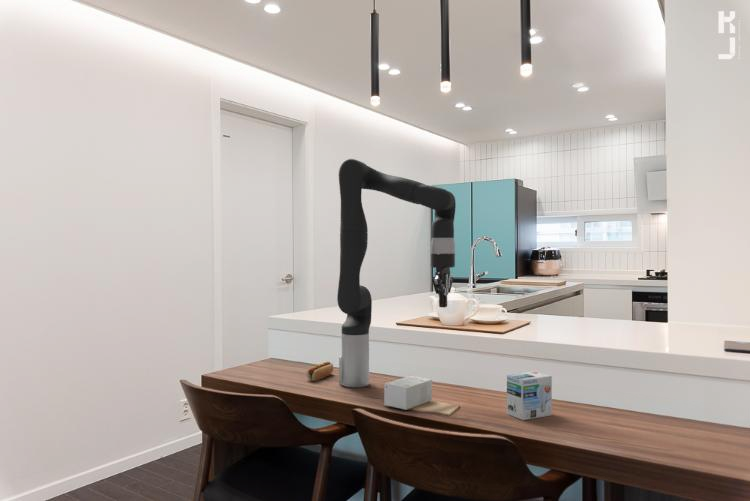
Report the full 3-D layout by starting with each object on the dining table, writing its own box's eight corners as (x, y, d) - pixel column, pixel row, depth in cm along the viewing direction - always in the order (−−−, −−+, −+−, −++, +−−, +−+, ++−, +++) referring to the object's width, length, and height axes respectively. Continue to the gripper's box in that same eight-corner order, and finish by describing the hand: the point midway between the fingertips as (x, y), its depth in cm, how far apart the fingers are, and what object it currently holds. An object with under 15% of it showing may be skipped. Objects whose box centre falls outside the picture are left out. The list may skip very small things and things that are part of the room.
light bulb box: (523, 421, 139) (522, 379, 139) (505, 414, 145) (505, 374, 145) (553, 415, 144) (552, 375, 144) (535, 408, 150) (534, 370, 150)
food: (322, 373, 197) (322, 359, 197) (336, 374, 194) (336, 361, 194) (303, 381, 184) (303, 367, 184) (317, 383, 182) (317, 368, 182)
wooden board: (383, 405, 153) (383, 404, 153) (397, 398, 161) (397, 396, 161) (449, 415, 144) (449, 413, 144) (460, 407, 152) (460, 405, 152)
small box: (410, 396, 162) (383, 405, 152) (410, 375, 162) (383, 382, 152) (432, 400, 157) (406, 410, 147) (432, 379, 157) (406, 387, 147)
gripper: (439, 252, 176) (439, 304, 176) (423, 252, 164) (424, 308, 164) (461, 252, 172) (461, 305, 172) (446, 252, 161) (446, 309, 161)
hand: (443, 307), depth 168 cm, fingers closed
